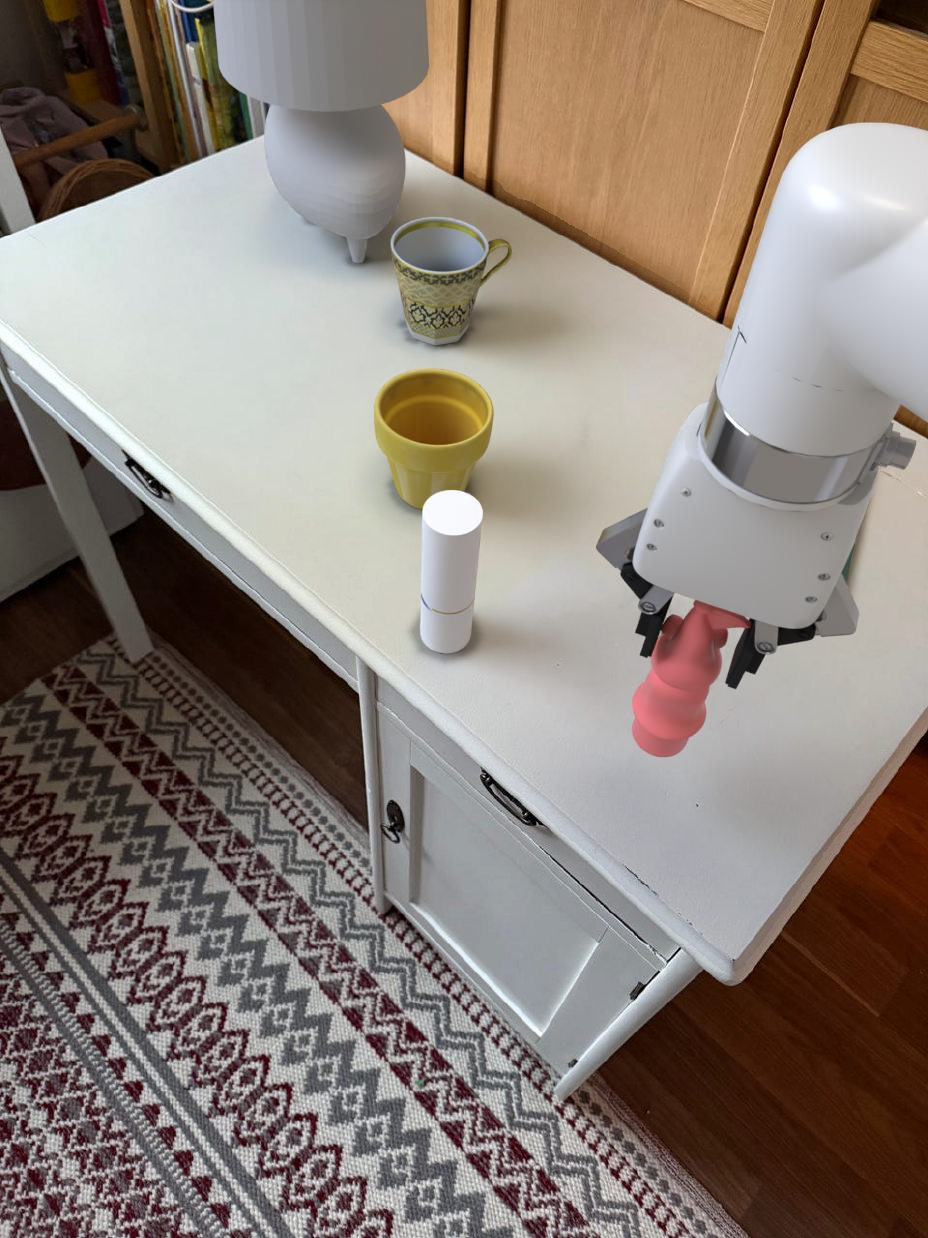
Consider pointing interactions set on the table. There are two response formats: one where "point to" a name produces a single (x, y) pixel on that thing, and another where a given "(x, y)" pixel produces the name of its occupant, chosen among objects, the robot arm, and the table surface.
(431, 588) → the tube
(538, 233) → the table surface
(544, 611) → the table surface
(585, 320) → the table surface
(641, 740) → the figurine
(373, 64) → the table lamp
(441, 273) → the ceramic cup
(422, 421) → the flower pot
